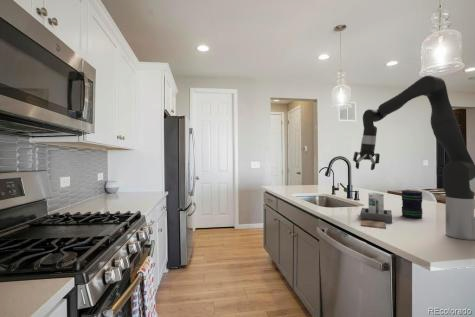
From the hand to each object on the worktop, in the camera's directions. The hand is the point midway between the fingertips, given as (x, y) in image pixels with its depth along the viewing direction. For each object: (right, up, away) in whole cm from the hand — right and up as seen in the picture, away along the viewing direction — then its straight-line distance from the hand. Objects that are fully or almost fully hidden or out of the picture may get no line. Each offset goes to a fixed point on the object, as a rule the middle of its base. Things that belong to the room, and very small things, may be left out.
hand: (364, 169), depth 148 cm
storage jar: (+23, -28, -8) cm, 37 cm away
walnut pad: (-8, -28, -23) cm, 37 cm away
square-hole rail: (+1, -28, -11) cm, 30 cm away
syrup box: (+1, -28, -11) cm, 30 cm away
